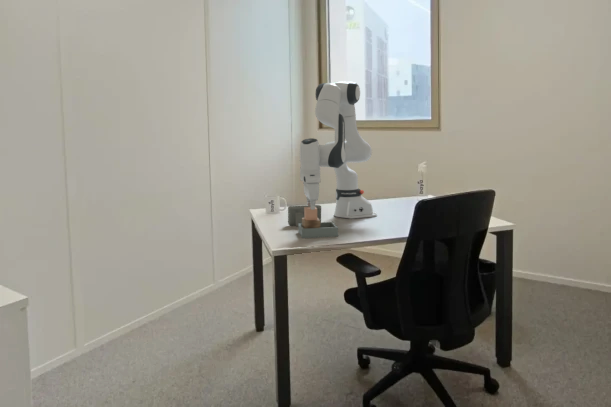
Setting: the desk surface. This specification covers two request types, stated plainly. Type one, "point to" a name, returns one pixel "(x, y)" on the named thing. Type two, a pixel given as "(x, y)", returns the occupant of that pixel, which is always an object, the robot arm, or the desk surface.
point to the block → (310, 223)
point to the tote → (319, 230)
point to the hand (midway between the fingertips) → (311, 207)
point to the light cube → (310, 213)
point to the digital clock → (299, 214)
